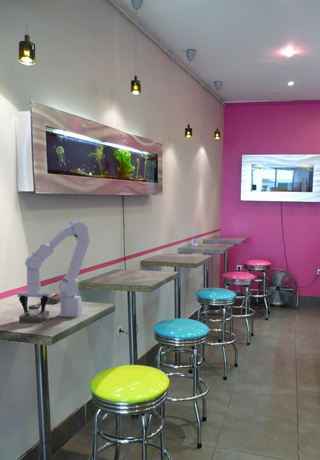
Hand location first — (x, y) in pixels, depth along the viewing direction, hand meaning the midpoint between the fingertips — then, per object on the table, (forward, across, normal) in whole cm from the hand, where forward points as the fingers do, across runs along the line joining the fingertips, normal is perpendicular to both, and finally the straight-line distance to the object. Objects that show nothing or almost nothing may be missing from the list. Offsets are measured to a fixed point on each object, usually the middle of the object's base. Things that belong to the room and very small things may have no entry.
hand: (34, 312), depth 190 cm
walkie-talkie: (+4, +1, -30) cm, 30 cm away
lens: (+3, 0, 0) cm, 3 cm away
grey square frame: (+3, 0, 0) cm, 3 cm away
